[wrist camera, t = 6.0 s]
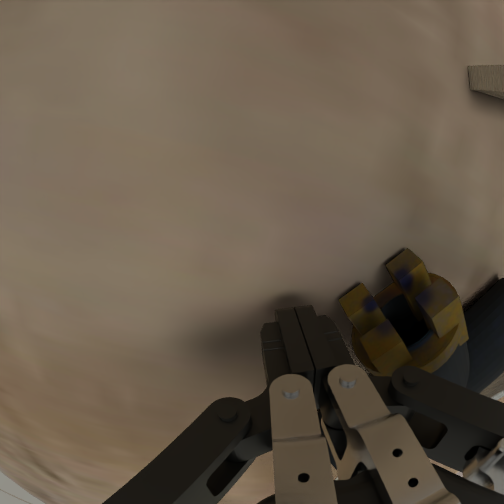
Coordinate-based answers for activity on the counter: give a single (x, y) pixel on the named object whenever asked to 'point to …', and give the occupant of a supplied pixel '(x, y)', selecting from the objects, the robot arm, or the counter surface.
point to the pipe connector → (426, 328)
